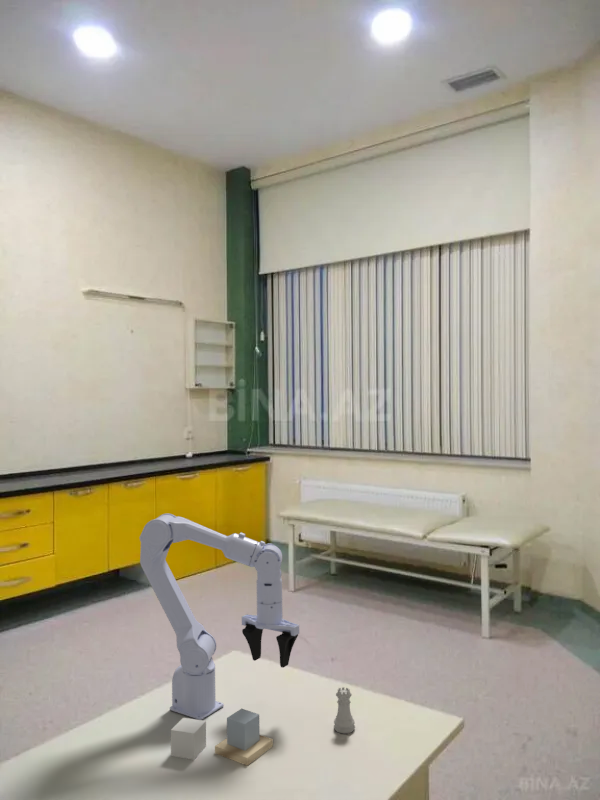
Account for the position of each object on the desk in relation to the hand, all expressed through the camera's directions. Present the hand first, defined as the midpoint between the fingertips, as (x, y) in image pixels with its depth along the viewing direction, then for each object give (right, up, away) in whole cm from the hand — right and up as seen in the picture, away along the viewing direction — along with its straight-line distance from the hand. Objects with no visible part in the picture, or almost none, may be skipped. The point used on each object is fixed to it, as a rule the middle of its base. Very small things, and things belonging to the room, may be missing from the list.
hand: (270, 662), depth 135 cm
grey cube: (-15, -10, -17) cm, 25 cm away
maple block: (-4, -11, -17) cm, 20 cm away
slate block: (-4, -9, -16) cm, 19 cm away
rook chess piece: (+16, -10, -9) cm, 21 cm away
